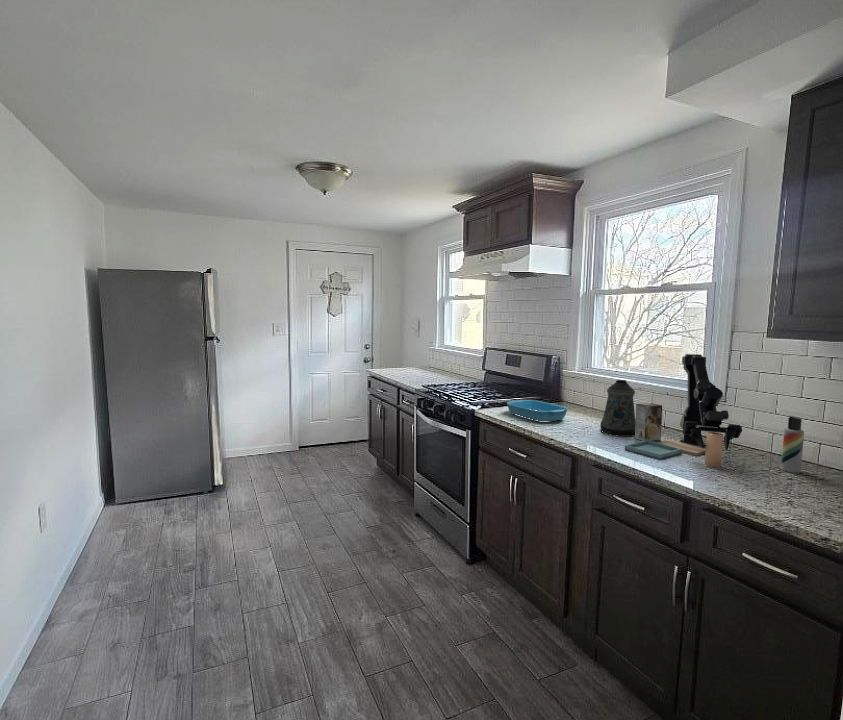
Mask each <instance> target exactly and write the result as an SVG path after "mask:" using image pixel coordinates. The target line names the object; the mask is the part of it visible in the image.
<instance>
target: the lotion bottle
mask: <svg viewBox="0 0 843 720" xmlns="http://www.w3.org/2000/svg"><path fill="white" fill-rule="evenodd" d="M802 421H803V419H802V418H801V417H798V416H795V415H790V416H789V417H788V419H787V428H784V430H783V437H782V438H783V439H782V440H783V441H782V450H781V451H782V454H781V465H780V469H781V471H783V470H784V471H783V472H786V471H787V473H791V474H800V473H801V471H802V463H803V462H802V461H803V451H804V438H805V431H804V430H802Z"/></svg>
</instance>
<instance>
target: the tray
mask: <svg viewBox="0 0 843 720" xmlns="http://www.w3.org/2000/svg"><path fill="white" fill-rule="evenodd" d="M624 450H625V451H626V452H630V451H631V453H635V454H637V455H638V454H639V455H641V454H642V456H646V457H650V458H653V459H656V460H663V459H668V458H670V457H674V456H678V455H682V449H680V448H676V447H672V446H667V445H663V444H659V442H656V441H647V440H646V441H642V440H641V441H638V442H634V443H630V444H625V445H624Z"/></svg>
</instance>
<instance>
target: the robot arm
mask: <svg viewBox="0 0 843 720" xmlns="http://www.w3.org/2000/svg"><path fill="white" fill-rule="evenodd" d="M681 364H682V365H683V369H684V371H685V372H686V373H685V374H687V407H686V408H685V409H684V411H683V414H682V416H681V419H680V421H679V424H680V425H679V426H680V428H681V429H682V433H683V439H679V440H680V441H679V442H682V443H686V444H690V445H699V447H702V449H704V448H705V443H704V439H703V435H702V432H706V433H708V432H714V433H720V434H723V444H724V449H725V451H726V452H727V451H728V450H729V447H730V441H731V440H733V439H739V438H740V435H741V434H742V432H743V428H742V425H740V424H736V423H735V424H734V423H728V425H727V427H721V426H722V424H723V421H724V420H728V419H729V416H730V415H729V411H728V410H725V409H724V410H721V411H719V410H717V407H718V406H719V405H720V403H721V400H722V398H723V395H724V393H723V391H722V390H721V389H720V388H718V387H716V385H715V384H714V383H712V382H711V381H710V379H709V374H708V370H707V357H706V356H703V355H702V354H700V353H699V354H693V353H686V354H684V356H682V358H681ZM698 443H699V444H698Z"/></svg>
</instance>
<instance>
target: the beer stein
mask: <svg viewBox="0 0 843 720" xmlns="http://www.w3.org/2000/svg"><path fill="white" fill-rule="evenodd" d="M606 392H607V400H606V403H605V408H604V412H603V417H602V419H601V421H600V424H599V425H600V431H601V432H602V431H603V432H605V433H608V434H607V435H609V434H611V435H610V436H614V435H618V436H617V437H632V435H634V436H635V423H636V411H635V404H634V396H635V393H636V390H635V389H634V388H633V387H632V386H630V384H629V383H628V382H627V380H626V379H617V380H616V381H615V382H614V383H613V384H611V385H610V386H609V387H608V388H607V389H606ZM603 432H602V433H603ZM605 433H604V434H605Z"/></svg>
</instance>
